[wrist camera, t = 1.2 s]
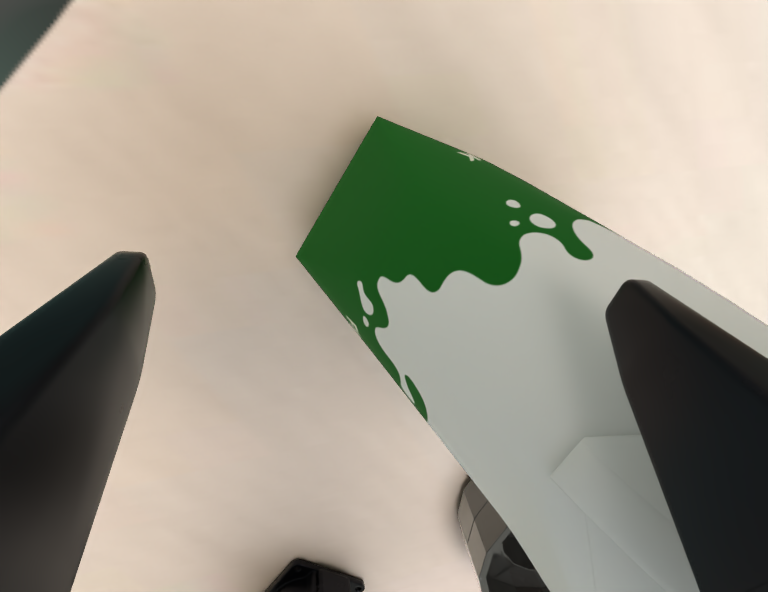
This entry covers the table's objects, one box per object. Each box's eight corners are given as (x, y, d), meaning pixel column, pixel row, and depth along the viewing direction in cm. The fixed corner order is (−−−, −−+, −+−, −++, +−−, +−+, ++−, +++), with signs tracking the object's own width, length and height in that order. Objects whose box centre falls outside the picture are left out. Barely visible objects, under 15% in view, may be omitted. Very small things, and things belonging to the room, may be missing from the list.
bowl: (545, 574, 41) (578, 644, 36) (418, 521, 36) (435, 594, 31) (670, 466, 37) (725, 527, 32) (547, 389, 32) (590, 448, 27)
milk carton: (487, 169, 25) (999, 472, 12) (395, 307, 28) (741, 681, 15) (372, 83, 19) (1160, 508, 6) (266, 269, 22) (667, 858, 9)
